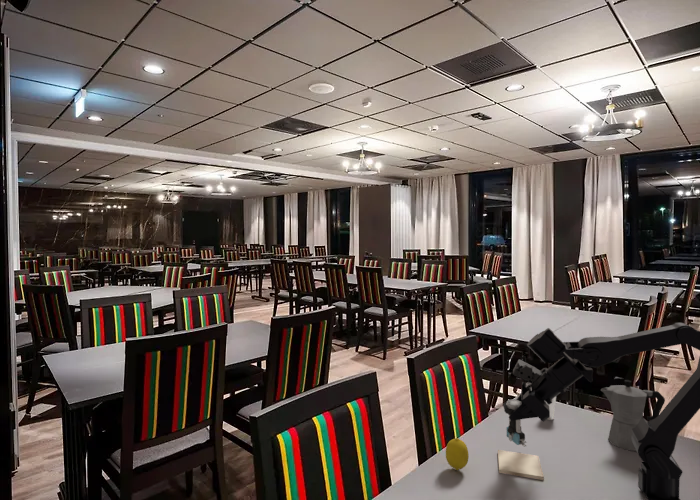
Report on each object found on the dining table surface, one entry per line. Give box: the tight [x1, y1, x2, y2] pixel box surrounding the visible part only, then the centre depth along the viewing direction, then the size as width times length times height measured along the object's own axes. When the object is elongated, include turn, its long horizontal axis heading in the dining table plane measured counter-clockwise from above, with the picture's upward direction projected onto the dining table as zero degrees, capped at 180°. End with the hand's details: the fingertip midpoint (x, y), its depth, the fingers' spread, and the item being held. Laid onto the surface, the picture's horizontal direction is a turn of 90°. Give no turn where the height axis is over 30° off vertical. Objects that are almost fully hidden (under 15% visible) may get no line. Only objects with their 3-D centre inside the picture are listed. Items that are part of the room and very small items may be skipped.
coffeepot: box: [600, 379, 666, 452], centre depth 115 cm, size 15×9×18 cm, turn 72°
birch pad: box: [497, 449, 545, 481], centre depth 103 cm, size 10×10×1 cm
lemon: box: [445, 437, 469, 471], centre depth 101 cm, size 6×6×8 cm
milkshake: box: [546, 396, 557, 421], centre depth 131 cm, size 4×5×10 cm
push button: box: [502, 398, 528, 447], centre depth 103 cm, size 7×5×10 cm
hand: (510, 414), depth 104 cm, fingers closed on push button, 5 cm apart
